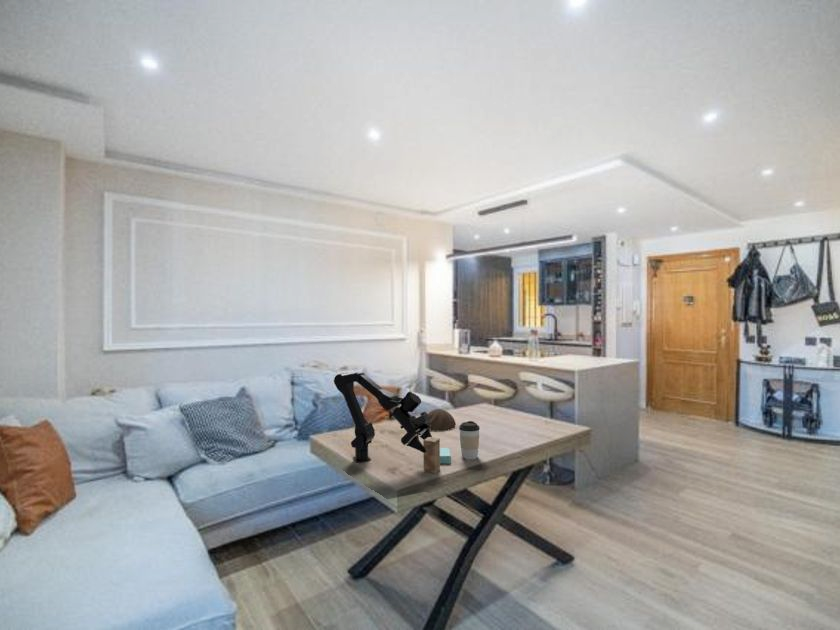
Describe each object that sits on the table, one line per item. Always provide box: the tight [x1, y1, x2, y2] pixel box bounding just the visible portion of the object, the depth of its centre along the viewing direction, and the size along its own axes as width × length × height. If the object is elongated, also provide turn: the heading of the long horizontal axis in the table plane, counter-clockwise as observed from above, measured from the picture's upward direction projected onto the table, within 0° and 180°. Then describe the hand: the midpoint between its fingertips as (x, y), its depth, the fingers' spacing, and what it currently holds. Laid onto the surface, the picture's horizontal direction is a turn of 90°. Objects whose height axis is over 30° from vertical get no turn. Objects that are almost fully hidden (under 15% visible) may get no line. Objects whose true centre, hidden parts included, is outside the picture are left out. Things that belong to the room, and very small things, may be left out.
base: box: [440, 447, 452, 464], centre depth 182 cm, size 11×11×3 cm
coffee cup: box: [459, 420, 480, 460], centre depth 184 cm, size 9×9×15 cm
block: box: [422, 436, 441, 474], centre depth 168 cm, size 5×5×12 cm
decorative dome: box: [427, 408, 457, 432], centre depth 236 cm, size 19×20×10 cm
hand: (430, 448), depth 169 cm, fingers open, 9 cm apart
